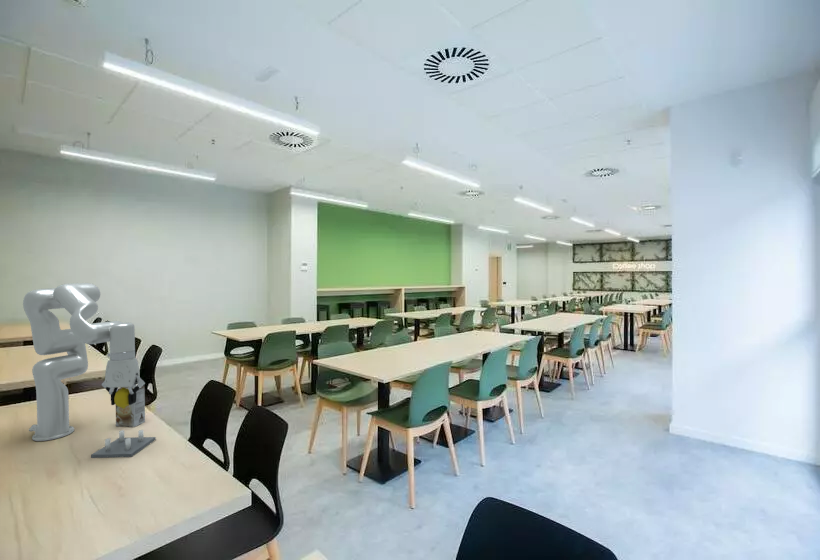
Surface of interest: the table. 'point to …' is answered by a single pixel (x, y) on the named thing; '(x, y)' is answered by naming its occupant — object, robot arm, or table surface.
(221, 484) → the table surface
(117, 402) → the lemon
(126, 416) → the coffee box
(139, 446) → the grey pegged plate
